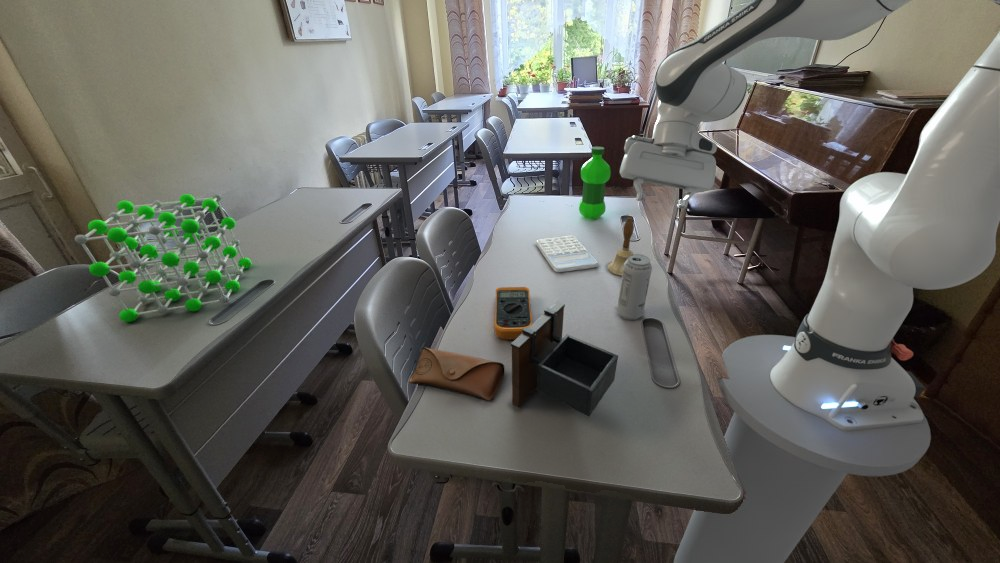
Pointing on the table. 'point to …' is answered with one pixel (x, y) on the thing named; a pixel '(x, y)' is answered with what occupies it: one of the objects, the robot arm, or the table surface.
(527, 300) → the multimeter
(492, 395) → the sunglasses case
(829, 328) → the robot arm
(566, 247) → the calculator
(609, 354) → the dark grey open box
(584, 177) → the plastic bottle
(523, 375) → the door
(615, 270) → the hand bell
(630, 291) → the energy drink can
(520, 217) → the table surface
